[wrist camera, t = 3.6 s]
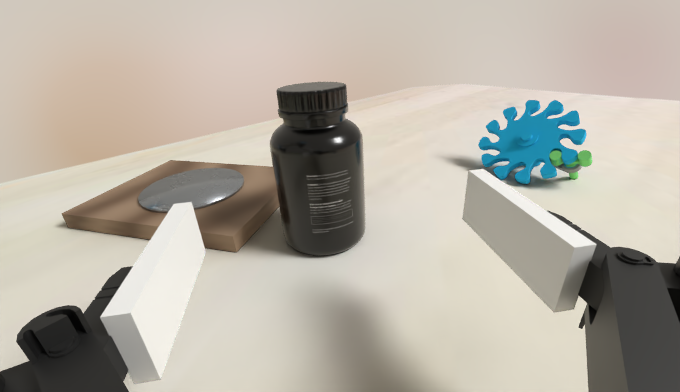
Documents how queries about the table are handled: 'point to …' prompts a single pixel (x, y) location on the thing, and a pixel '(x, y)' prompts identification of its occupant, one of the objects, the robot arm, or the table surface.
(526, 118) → the gear
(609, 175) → the table surface
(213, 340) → the table surface
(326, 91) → the supplement bottle
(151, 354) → the robot arm
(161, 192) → the walnut board
